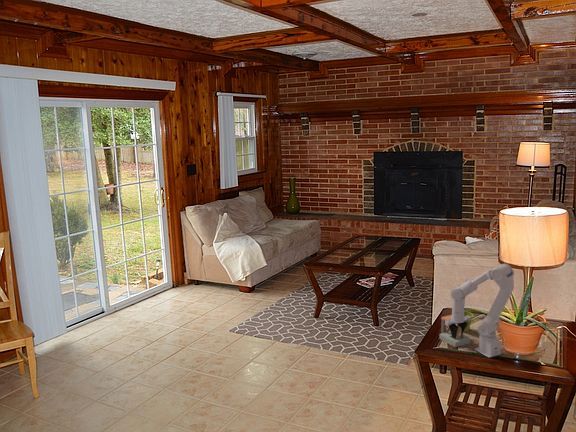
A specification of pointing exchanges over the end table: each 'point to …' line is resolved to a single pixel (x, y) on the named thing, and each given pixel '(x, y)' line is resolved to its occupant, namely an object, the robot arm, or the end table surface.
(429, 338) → the end table surface
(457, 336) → the peg
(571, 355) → the end table surface
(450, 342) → the socket board
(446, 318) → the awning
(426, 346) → the end table surface
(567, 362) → the end table surface
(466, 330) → the plant pot
